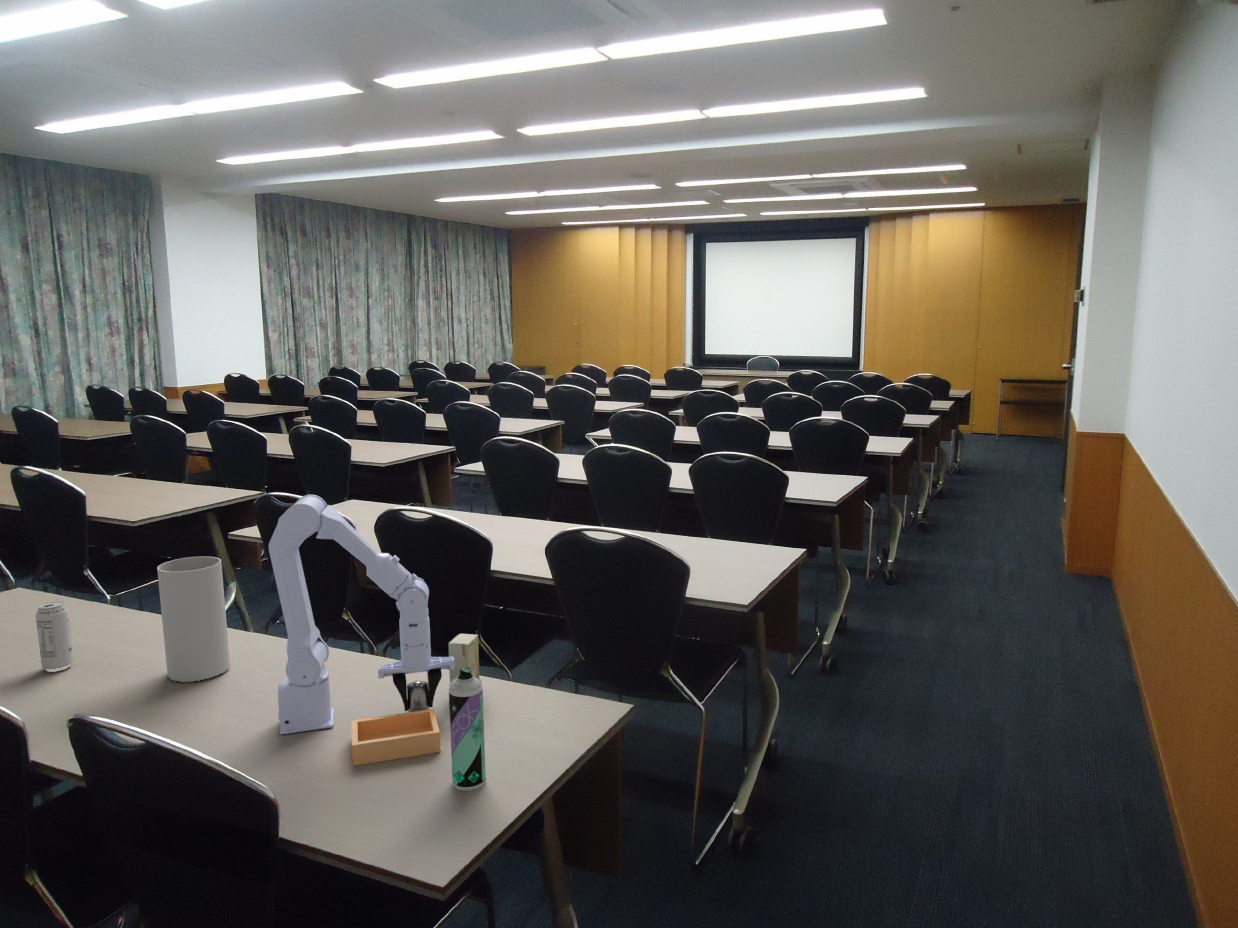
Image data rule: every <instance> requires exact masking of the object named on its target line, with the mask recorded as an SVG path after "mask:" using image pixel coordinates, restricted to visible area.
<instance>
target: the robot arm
mask: <svg viewBox="0 0 1238 928" xmlns="http://www.w3.org/2000/svg"><path fill="white" fill-rule="evenodd" d="M277 520H278V521H277V525H276V526H275V529H274V531H273V532H272V533H273V534H272V535H271V538H270V540H269V543H268V553H269V557H270V561H271V567H272V570H273V575H274V579H275V583H276V584H275V585H276V588H277V593H278V597H279V602H280V606H281V610H282V615H283V620H284V624H285V628H286V633H287V641H286V643H287V645H286V655H287V662H286V666H285V673H286V675H285V676H286V677H287V679H286V680H283V681H282V680H281V681H279V682H278V684H277V686H278V687H277V703H278V706H277V707H278V711H277V712H278V714H277V715H278V721H279V729H280V731H279V734H280V735H288V734H295V733H300V732H308V731H314V730H321V729H328V728H334V720H335V719H334V718H335V708H334V707H332V704H331V687H330V674H329V671H328V669H327V667H326V666H325V663H326V662H327V660H328V659H329V655H330V650H329V647H328V644H327V642H325V641H324V640H323V638H322V636H321V632H320V630H319V628H318V627H317V626H316V624H315V619H314V614H313V610H312V605H311V600H310V595H309V591H308V585H307V583H306V577H305V573H304V569H303V564H302V559H301V555H300V546H301V545H302V544H303V542H304V541H305V540H306V539H307V538H310V536H311V537H312V535H314V534H315V533H316V532H317V535H316V537H315V538H316V539H320V540H334V541H335V542H336V543H338V544H339V545H340V546H341V547H342V548H343V549H345V550H346V551H347V552H349V553H350V554H351V555H352V556H354V557H355V558H356V559H357V560H359V561H360V562H361V563H362V564H364V565H365V567H366V576H367V577H368V578H369V579H370V580H371V581H372V582H374V583H375V584H376V585H377V586H378V587H379V588H380V589H381V590H383V592H384V593H386V595H388V596H389V597H390V598H393V599H394V600H396V602H395V605H396V609H397V610H398V611H399V616H400V617H399V619H398V621H399V641H400V644H399V645H400V646H399V647H400V660H398V661H397V660H396V661H394V662H391V663H386V664H381V665H377V676H378V679H380V680H381V679H384V678H386V677H392V683H393V684H394V687H395V688H396V689H397V691H398V693H399V696H400V698H401V700H402V703H403V708H404V712H408V710H409V708H408V697H407V685H408V684H407V675H408V674H416V673H424V672H426V673H427V683H428V699H429V709H430V708H433V705H434V699H435V694H436V691H437V688H438V687H439V683H440V681H441V679H442V676H443V675H442V674H443V673H442V670H447V669H448V670H449V669H450V670H451V669H455V665H454V658H453V657H449V656H432V648H431V628H430V627H431V626H430V617H429V614H430V613H429V608H428V604H429V596H430V589H429V587H428V585H427V583H426V582H425V579H423V578H421V577H418V575H416V574H415V573H411V572H410V571H408V570H407V569H406V568H405V567H404V566H403V565H402V564H401V563H400V562H399V561H400V557H398V556H397V555H396V554H394V555H393V556H392V555H391V554H390V553H389V552H378V551H377V550H376V549H375V548H374V547H373V546H372V545H371V544H370V543H369V542H368V541H367V540H366V539H365V538H364V537H363V536H362V535H361V534H360V533H359V532H358V531H357V530H356V529H355V528H354V527H353V526H352V525H351V524H350V523H349V522H348V521H347V520H346V519H345V518H344V516H342V515H341V514H340V512H338V510H337V509H336V508H334V507H333V506H331V504H327V502H326V501H325V500H324V499H323V498H322V497H320V496H319V495H315V494H306V495H303V496H302V497H299V498H298V499H297V501H295V503H293V505H291V506H290V507H288V508H287V509H286V511H284V512H283V514H282V515H281V516H280V517H279V518H278V519H277Z"/></svg>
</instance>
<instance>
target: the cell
mask: <svg viewBox="0 0 1238 928" xmlns="http://www.w3.org/2000/svg"><path fill="white" fill-rule="evenodd" d="M407 700H408V708H409V710H408V711H407V712H415V711H422V710H429V709H430V708H429V699H428V681H425V680H424V681H423V680H415V681H412V682H409V683H408V684H407Z"/></svg>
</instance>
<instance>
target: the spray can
mask: <svg viewBox="0 0 1238 928" xmlns="http://www.w3.org/2000/svg"><path fill="white" fill-rule="evenodd" d="M482 682H483V681H482V680H481V679H480V677H479V678H476V677H474V675H473V674H472V673H471V671H470V668H467V667H464V668H461V669H460V674H459V675H458V676H457V678H456V679H454V680H453V681H451V682H450V681H449V684H448V685H449V686H448V701H449V704H448V705H449V726H450V727H449V728H450V730H449V731H450V748H451V749H450V752H451V773H452V774H451V775H452V786H453V788H454V789H455V790H457V791H460V790H461V791H460V792H472V790H473V791H476V790H479V789H480V788H482V787H484V786H485V784H486V780H487V777H486V776H487V774H486V750H485V749H486V748H485V747H486V746H485V721H484V720H485V717H484V693H483V692H484V691H483V689H484V688H483V687H484V686H483V683H482ZM463 790H464V791H463Z"/></svg>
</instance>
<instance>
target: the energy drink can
mask: <svg viewBox="0 0 1238 928" xmlns="http://www.w3.org/2000/svg"><path fill="white" fill-rule="evenodd" d="M35 621H36V623H35V624H36V629H37V630H36V631H37V638H38V645H39V655H40V664H41V668H42V669H43V668H44V669H43V670H45V669H56V668H61V667H64V666H67V665H69V664H71V663H72V662H73V663H74V662H75V659H74V654H73V653H74V651H73V650H74V649H73V643H72V634H71V626H70V617H69V609H68V608H67V606H66V605H65V603H64V601H50V602H44V603H42V604H39V605H38V606H37V611H36V613H35ZM73 663H72V664H73ZM72 664H71V665H72Z"/></svg>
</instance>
